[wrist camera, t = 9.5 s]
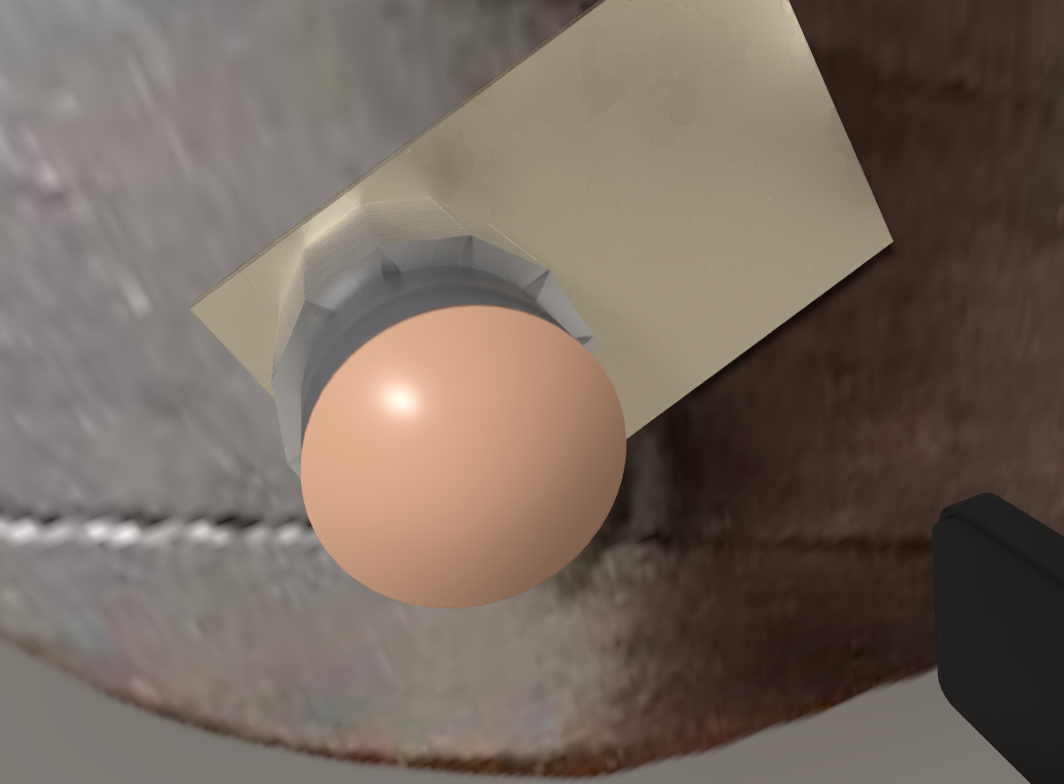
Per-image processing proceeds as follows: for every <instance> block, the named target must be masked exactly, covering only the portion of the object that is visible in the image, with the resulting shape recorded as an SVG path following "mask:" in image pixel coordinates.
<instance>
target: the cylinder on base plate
mask: <svg viewBox="0 0 1064 784" xmlns="http://www.w3.org/2000/svg"><path fill="white" fill-rule="evenodd" d="M892 242H893V240H892V238H891V235H890V233H889V231H888V228H887V226H886V224H885V222H884V219H883V217H882V215H881V212H880V210H879V208H878V205H877V203H876V201H875V198H874V196H873V194H872V192H871V189H870V187H869V185H868V182H867V180H866V178H865V175H864V173H863V171H862V169H861V166H860V164H859V162H858V159H857V157H856V155H855V152H854V150H853V148H852V146H851V143H850V141H849V139H848V136H847V134H846V132H845V129H844V127H843V125H842V122H841V120H840V118H839V116H838V113H837V111H836V109H835V106H834V104H833V102H832V99H831V97H830V95H829V93H828V90H827V88H826V86H825V83H824V81H823V79H822V76H821V74H820V72H819V70H818V67H817V65H816V63H815V60H814V58H813V56H812V53H811V51H810V49H809V46H808V44H807V42H806V40H805V37H804V35H803V33H802V30H801V28H800V26H799V23H798V21H797V19H796V17H795V14H794V12H793V10H792V7H791V5H790V3H789V0H599V1H598V2H596V3H595V4H594V5H592V6H591V7H590V8H588V9H587V10H585V11H584V12H583V13H581V14H580V15H579V16H577V17H576V18H575V19H573V20H572V21H571V22H569V23H568V24H567V25H565V26H564V27H563V28H561V29H560V30H559V31H557V32H556V33H554V34H553V35H552V36H550V37H549V38H548V39H546V40H545V41H544V42H542V43H541V44H540V45H538V46H537V47H536V48H534V49H533V50H532V51H530V52H529V53H528V54H526V55H525V56H523V57H522V58H521V59H519V60H518V61H517V62H515V63H514V64H513V65H511V66H510V67H509V68H507V69H506V70H505V71H503V72H502V73H501V74H499V75H498V76H497V77H495V78H494V79H492V80H491V81H490V82H488V83H487V84H486V85H484V86H483V87H482V88H480V89H479V90H478V91H476V92H475V93H474V94H472V95H471V96H470V97H468V98H467V99H466V100H464V101H463V102H462V103H460V104H459V105H457V106H456V107H455V108H453V109H452V110H451V111H449V112H448V113H447V114H445V115H444V116H443V117H441V118H440V119H439V120H437V121H436V122H435V123H433V124H432V125H431V126H429V127H428V128H426V129H425V130H424V131H422V132H421V133H420V134H418V135H417V136H416V137H414V138H413V139H412V140H410V141H409V142H408V143H406V144H405V145H404V146H402V147H401V148H400V149H398V150H397V151H395V152H394V153H393V154H391V155H390V156H389V157H387V158H386V159H385V160H383V161H382V162H381V163H379V164H378V165H377V166H375V167H374V168H373V169H371V170H370V171H369V172H367V173H366V174H364V175H363V176H362V177H360V178H359V179H358V180H356V181H355V182H354V183H352V184H351V185H350V186H348V187H347V188H346V189H344V190H343V191H342V192H340V193H339V194H338V195H336V196H335V197H334V198H332V199H331V200H329V201H328V202H327V203H325V204H324V205H323V206H321V207H320V208H319V209H317V210H316V211H315V212H313V213H312V214H311V215H309V216H308V217H307V218H305V219H304V220H303V221H301V222H300V223H298V224H297V225H296V226H294V227H293V228H292V229H290V230H289V231H288V232H286V233H285V234H284V235H282V236H281V237H280V238H278V239H277V240H276V241H274V242H273V243H272V244H270V245H269V246H267V247H266V248H265V249H263V250H262V251H261V252H259V253H258V254H257V255H255V256H254V257H253V258H251V259H250V260H249V261H247V262H246V263H245V264H243V265H242V266H241V267H239V268H238V269H236V270H235V271H234V272H232V273H231V274H230V275H228V276H227V277H226V278H224V279H223V280H222V281H220V282H219V283H218V284H216V285H215V286H214V287H212V288H211V289H210V290H208V291H207V292H205V293H204V294H203V295H201V296H200V297H199V298H197V299H196V300H195V301H194V302H193V304H192V306H191V308H190V309H191V310H192V311H193V312H194V313H195V314H196V315H197V317H198V318H199V319H200V320H201V321H202V322H203V323H204V324H205V325H206V326H207V327H208V328H209V329H210V330H211V332H212V333H213V334H214V335H215V336H216V337H217V338H218V339H219V340H220V341H221V342H222V343H223V344H224V345H225V347H226V348H227V349H228V350H229V351H230V352H231V353H232V354H233V355H234V356H235V357H236V358H237V359H238V360H239V362H240V363H241V364H242V365H243V366H244V367H245V368H246V369H247V370H248V371H249V372H250V373H251V374H252V375H253V377H254V378H255V379H256V380H257V381H258V382H259V383H260V384H261V385H262V386H263V387H264V388H265V389H266V390H267V392H268V393H269V394H270V395H271V396H272V397H273V398H274V399H275V404H276V409H277V414H278V419H279V424H280V429H281V434H282V439H283V444H284V449H285V454H286V459H287V464H288V465H289V466H290V467H291V468H292V469H293V471H294V472H295V473H296V474H297V475H298V476H299V477H300V478H301V397H302V383H303V378H304V372H305V368H306V365H307V362H308V359H309V356H310V353H311V351H312V349H313V347H314V344H315V342H316V340H317V338H318V336H319V335H320V333H321V332H322V330H323V329H324V327H325V326H326V324H327V323H328V322H329V320H330V319H331V318H332V317H333V316H334V315H335V314H336V312H337V311H338V310H339V309H340V308H341V307H342V306H343V305H344V304H345V303H347V302H348V301H349V300H350V299H351V298H352V297H354V296H355V295H356V294H357V293H359V292H360V291H362V290H363V289H365V288H367V287H368V286H370V285H371V284H373V283H375V282H377V281H379V280H381V279H383V278H385V277H388V276H390V275H393V274H396V273H399V272H402V271H405V270H408V269H414V268H419V267H424V266H436V265H452V266H464V267H469V268H474V269H479V270H483V271H486V272H488V273H491V274H494V275H497V276H499V277H501V278H503V279H505V280H507V281H509V282H511V283H513V284H515V285H516V286H518V287H519V288H520V289H522V290H523V291H525V292H526V293H527V294H529V295H530V296H531V297H532V298H533V299H534V300H535V301H536V302H537V303H538V304H539V305H540V306H542V307H543V308H544V309H545V310H546V311H547V312H548V313H549V314H550V315H551V316H552V317H553V318H554V319H555V320H556V321H557V322H558V323H559V324H560V325H561V326H562V327H564V328H565V329H566V330H567V331H568V332H569V333H570V334H571V335H572V336H573V337H574V338H575V339H576V340H577V341H578V342H579V343H580V344H581V345H582V346H583V347H585V348H586V349H587V350H588V351H589V352H590V353H591V354H592V355H593V357H594V358H595V359H596V360H597V362H598V363H599V364H600V365H601V367H602V368H603V369H604V371H605V372H606V374H607V376H608V378H609V379H610V381H611V383H612V384H613V386H614V389H615V391H616V394H617V396H618V399H619V401H620V404H621V408H622V412H623V416H624V421H625V429H626V439H627V438H628V437H630V436H631V435H633V434H634V433H635V432H637V431H638V430H639V429H641V428H642V427H643V426H645V425H646V424H647V423H649V422H650V421H651V420H653V419H654V418H656V417H657V416H658V415H660V414H661V413H662V412H664V411H665V410H666V409H668V408H669V407H670V406H672V405H673V404H674V403H676V402H677V401H678V400H680V399H681V398H683V397H684V396H685V395H687V394H688V393H689V392H691V391H692V390H693V389H695V388H696V387H697V386H699V385H700V384H701V383H703V382H704V381H705V380H707V379H708V378H710V377H711V376H712V375H714V374H715V373H716V372H718V371H719V370H720V369H722V368H723V367H724V366H726V365H727V364H728V363H730V362H731V361H733V360H734V359H735V358H737V357H738V356H739V355H741V354H742V353H743V352H745V351H746V350H747V349H749V348H750V347H751V346H753V345H754V344H755V343H757V342H758V341H760V340H761V339H762V338H764V337H765V336H766V335H768V334H769V333H770V332H772V331H773V330H774V329H776V328H777V327H778V326H780V325H781V324H782V323H784V322H785V321H787V320H788V319H789V318H791V317H792V316H793V315H795V314H796V313H797V312H799V311H800V310H801V309H803V308H804V307H805V306H807V305H808V304H810V303H811V302H812V301H814V300H815V299H816V298H818V297H819V296H820V295H822V294H823V293H824V292H826V291H827V290H828V289H830V288H831V287H832V286H834V285H835V284H837V283H838V282H839V281H841V280H842V279H843V278H845V277H846V276H847V275H849V274H850V273H851V272H853V271H854V270H855V269H857V268H858V267H860V266H861V265H862V264H864V263H865V262H866V261H868V260H869V259H870V258H872V257H873V256H874V255H876V254H877V253H878V252H880V251H881V250H882V249H884V248H885V247H887V246H888V245H889V244H891V243H892Z"/></svg>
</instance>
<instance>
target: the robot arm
mask: <svg viewBox="0 0 1064 784" xmlns="http://www.w3.org/2000/svg"><path fill="white" fill-rule="evenodd" d="M932 541H933V566H934V590H935V615H936V639H937V664H938V679H939V683H940V686H941V689H942V691H943V693H944V695H945V697H946V698H947V700H948V701H949V702H950V704H951V705H952V706H953V707H954V708H955V709H956V710H957V711H958V712H959V713H960V714H961V715H962V716H963V717H964V718H965V719H966V720H967V721H968V722H969V723H970V724H971V725H972V726H973V727H974V728H975V729H976V730H977V731H978V732H979V733H980V734H981V735H982V736H983V737H984V738H985V739H986V740H987V741H988V742H989V743H990V744H991V745H992V746H993V747H994V748H995V749H996V750H997V751H998V752H999V753H1000V754H1002V756H1003V757H1004V758H1005V759H1006V760H1007V761H1008V762H1009V763H1010V764H1012V766H1014V767H1015V769H1016V770H1017V771H1019V772H1020V773H1021V774H1022V775H1023V776H1024V777H1025V778H1026V779H1027V780H1028V781H1029V782H1030V783H1031V784H1064V537H1063V536H1062V535H1060V534H1059V533H1057V532H1055V531H1054V530H1052V529H1050V528H1049V527H1047V526H1046V525H1044V524H1042V523H1041V522H1039V521H1037V520H1036V519H1034V518H1033V517H1031V516H1029V515H1028V514H1026V513H1024V512H1023V511H1021V510H1020V509H1018V508H1016V507H1015V506H1013V505H1011V504H1010V503H1008V502H1007V501H1005V500H1003V499H1002V498H1000V497H998V496H996V495H994V494H991V493H982V494H980V495H977V496H974V497H972V498H969V499H966V500H964V501H961V502H958V503H955V504H953V505H950V506H948V507H946V508H944V509H943V510H942V512H941V513H940V520H939V522H938V523H936V524H935V525H934V527H933V530H932Z"/></svg>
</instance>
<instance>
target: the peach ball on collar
mask: <svg viewBox="0 0 1064 784" xmlns="http://www.w3.org/2000/svg"><path fill="white" fill-rule="evenodd" d="M626 441H627V440H626V429H625V421H624V416H623V412H622V408H621V404H620V401H619V399H618V396H617V394H616V391H615V389H614V386H613V384H612V383H611V381H610V379H609V378H608V376H607V374H606V372H605V371H604V369H603V368H602V367H601V365H600V364H599V363H598V362H597V360H596V359H595V358H594V357H593V355H592V354H591V353H590V352H589V351H588V350H587V349H586V348H585V347H583V346H582V345H581V344H580V343H579V342H578V341H577V340H576V339H575V338H574V337H573V336H572V335H571V334H570V333H569V332H568V331H567V330H566V329H565V328H564V327H562V326H561V325H560V324H559V323H558V322H557V321H556V320H555V319H554V318H553V317H552V316H551V315H550V314H549V313H548V312H547V311H546V310H545V309H544V308H543V307H542V306H540V305H539V304H538V303H537V302H536V301H535V300H534V299H533V298H532V297H531V296H530V295H529V294H527V293H526V292H525V291H523V290H522V289H520V288H519V287H518V286H516V285H515V284H513V283H511V282H509V281H507V280H505V279H503V278H501V277H499V276H497V275H494V274H491V273H488V272H486V271H483V270H479V269H474V268H469V267H464V266H452V265H436V266H424V267H419V268H414V269H408V270H405V271H402V272H399V273H396V274H393V275H390V276H388V277H385V278H383V279H381V280H379V281H377V282H375V283H373V284H371V285H370V286H368V287H367V288H365V289H363V290H362V291H360V292H359V293H357V294H356V295H355V296H354V297H352V298H351V299H350V300H349V301H348V302H347V303H345V304H344V305H343V306H342V307H341V308H340V309H339V310H338V311H337V312H336V314H335V315H334V316H333V317H332V318H331V319H330V320H329V322H328V323H327V324H326V326H325V327H324V329H323V330H322V332H321V333H320V335H319V336H318V338H317V340H316V342H315V344H314V347H313V349H312V351H311V353H310V356H309V359H308V362H307V365H306V368H305V372H304V378H303V383H302V397H301V484H302V493H303V499H304V503H305V507H306V510H307V514H308V517H309V519H310V522H311V524H312V526H313V528H314V531H315V533H316V535H317V537H318V538H319V540H320V541H321V543H322V544H323V546H324V547H325V549H326V551H327V552H328V553H329V554H330V555H331V556H332V558H333V559H334V560H335V561H336V562H337V563H338V564H339V566H340V567H342V568H343V569H344V570H345V571H346V572H348V573H349V574H350V575H351V576H352V577H353V578H355V579H356V580H358V581H359V582H361V583H362V584H364V585H365V586H367V587H369V588H370V589H372V590H374V591H376V592H378V593H381V594H383V595H385V596H387V597H389V598H393V599H396V600H399V601H402V602H405V603H409V604H414V605H420V606H425V607H436V608H462V607H471V606H478V605H484V604H489V603H492V602H496V601H500V600H503V599H507V598H509V597H512V596H514V595H517V594H519V593H522V592H524V591H526V590H528V589H530V588H532V587H534V586H536V585H538V584H540V583H542V582H543V581H545V580H546V579H548V578H549V577H551V576H552V575H554V574H555V573H557V572H558V571H560V570H561V569H562V568H563V567H564V566H566V565H567V564H568V563H569V562H570V561H572V560H573V559H574V558H575V557H576V556H577V555H578V554H579V553H580V552H581V551H582V550H583V549H584V548H585V547H586V545H587V544H588V543H589V542H590V541H591V539H592V538H593V537H594V535H595V534H596V533H597V531H598V530H599V529H600V527H601V525H602V524H603V522H604V520H605V519H606V517H607V515H608V514H609V512H610V510H611V507H612V505H613V503H614V501H615V499H616V496H617V494H618V490H619V487H620V484H621V481H622V477H623V472H624V466H625V460H626Z"/></svg>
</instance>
